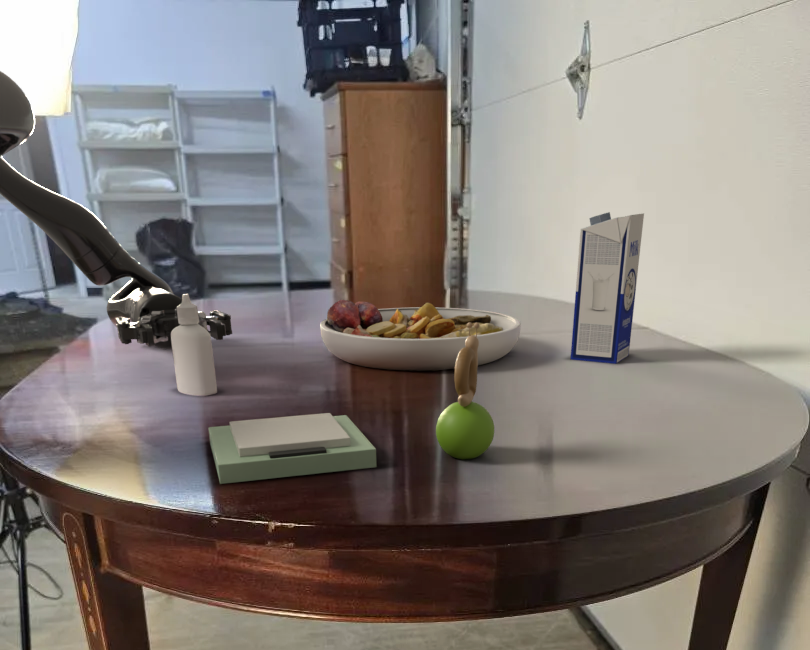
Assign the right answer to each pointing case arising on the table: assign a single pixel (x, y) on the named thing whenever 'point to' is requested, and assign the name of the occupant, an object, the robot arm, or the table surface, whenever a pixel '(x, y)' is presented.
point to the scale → (288, 447)
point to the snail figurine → (465, 409)
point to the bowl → (414, 335)
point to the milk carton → (606, 288)
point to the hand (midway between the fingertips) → (186, 334)
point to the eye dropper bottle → (192, 353)
